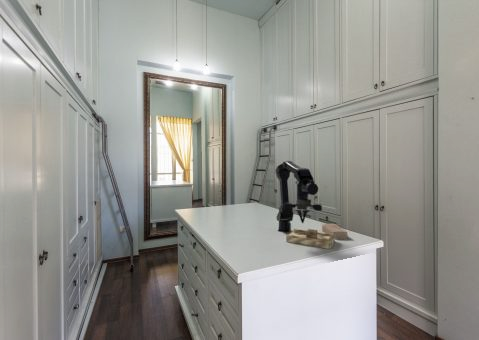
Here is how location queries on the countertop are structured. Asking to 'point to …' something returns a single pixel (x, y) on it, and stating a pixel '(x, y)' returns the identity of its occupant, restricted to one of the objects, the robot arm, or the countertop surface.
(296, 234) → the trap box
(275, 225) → the countertop surface
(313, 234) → the walnut block
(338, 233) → the brick
